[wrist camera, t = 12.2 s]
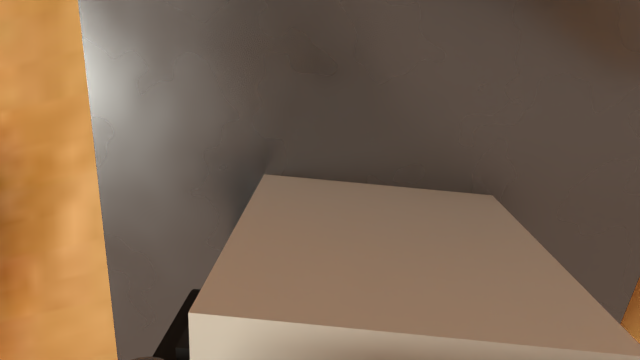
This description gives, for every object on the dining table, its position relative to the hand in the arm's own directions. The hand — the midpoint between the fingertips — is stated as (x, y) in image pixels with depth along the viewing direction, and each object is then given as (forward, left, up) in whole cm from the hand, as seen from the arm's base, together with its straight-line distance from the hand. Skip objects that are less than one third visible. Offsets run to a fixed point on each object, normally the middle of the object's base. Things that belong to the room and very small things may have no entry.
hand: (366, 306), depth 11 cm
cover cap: (0, 0, -1) cm, 1 cm away
